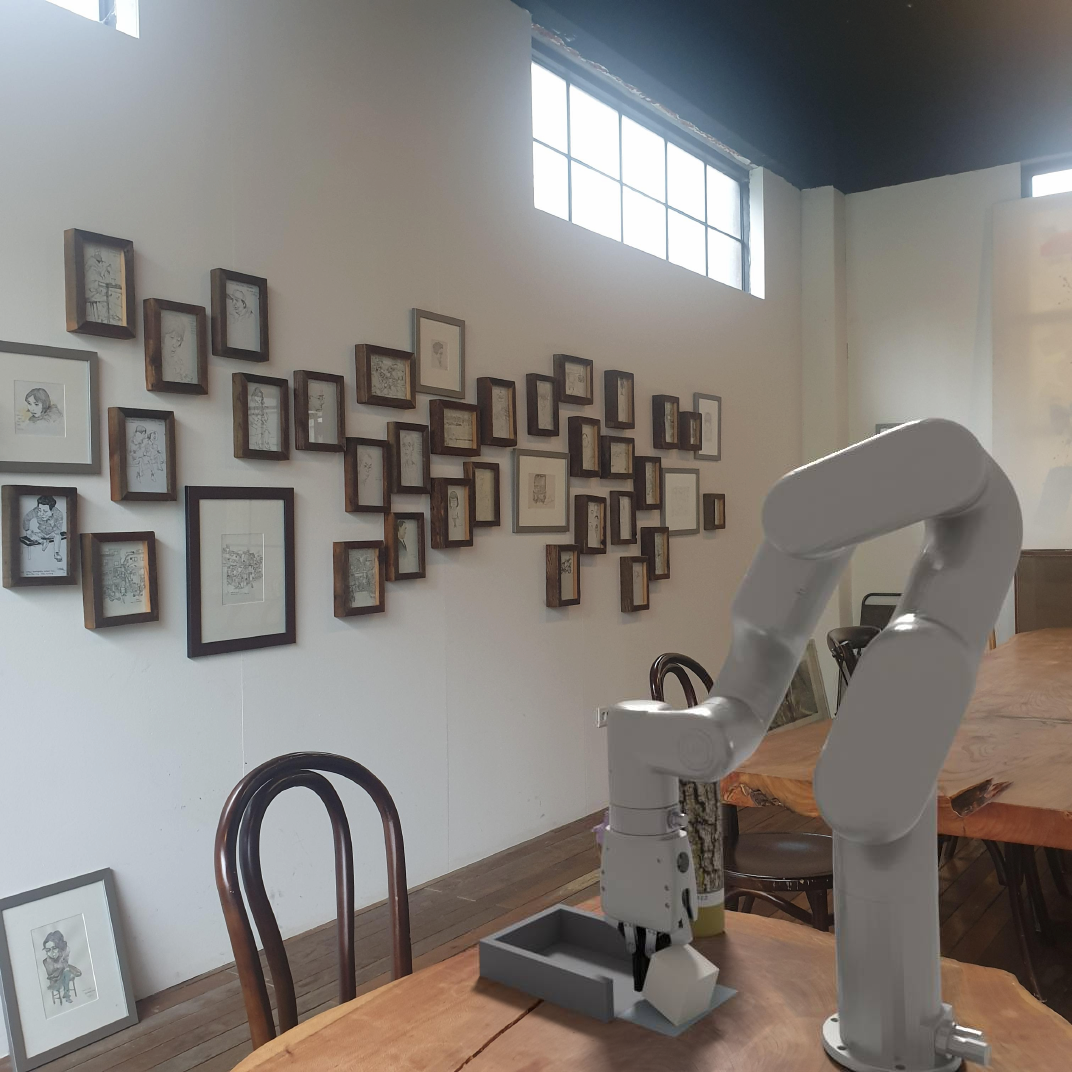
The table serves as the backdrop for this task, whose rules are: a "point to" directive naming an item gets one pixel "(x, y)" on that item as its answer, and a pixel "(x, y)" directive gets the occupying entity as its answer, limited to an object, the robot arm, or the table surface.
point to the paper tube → (705, 852)
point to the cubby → (576, 968)
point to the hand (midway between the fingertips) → (648, 988)
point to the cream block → (680, 983)
